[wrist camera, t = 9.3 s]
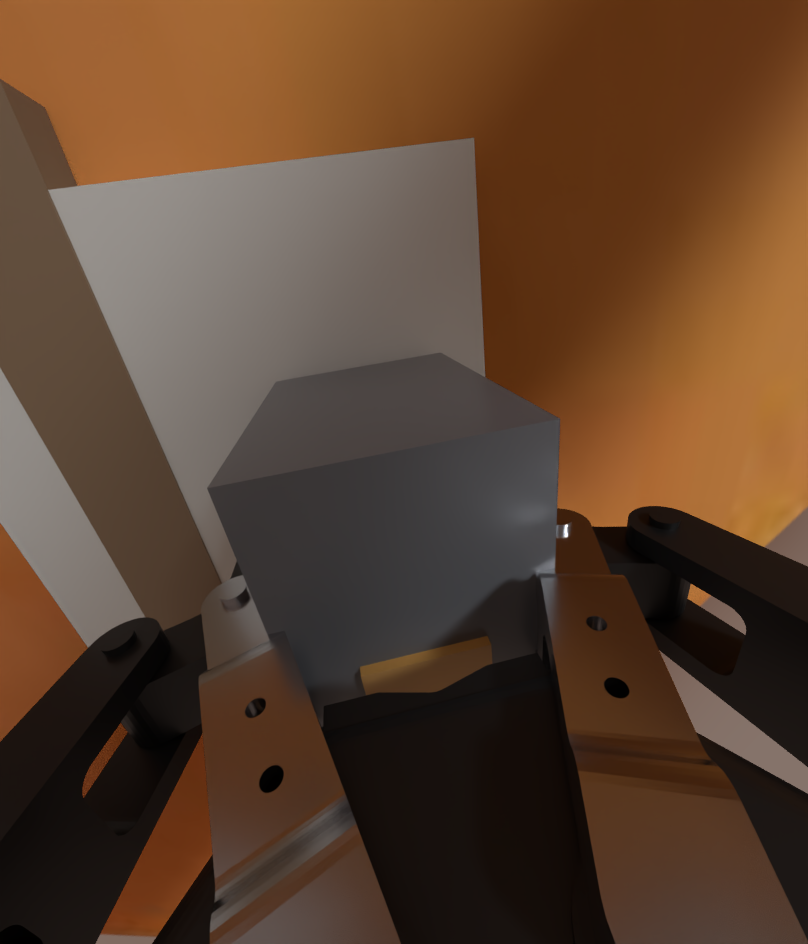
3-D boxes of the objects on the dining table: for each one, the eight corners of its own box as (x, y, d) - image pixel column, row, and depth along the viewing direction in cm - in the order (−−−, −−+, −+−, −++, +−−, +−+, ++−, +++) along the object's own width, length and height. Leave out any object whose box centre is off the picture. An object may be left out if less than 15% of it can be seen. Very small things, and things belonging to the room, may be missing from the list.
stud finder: (440, 352, 12) (567, 422, 5) (461, 560, 15) (553, 753, 9) (276, 381, 11) (202, 495, 5) (335, 588, 15) (336, 812, 8)
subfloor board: (452, 64, 11) (470, 28, 9) (487, 636, 20) (499, 662, 19) (-201, 133, 9) (-300, 104, 8) (168, 712, 19) (155, 747, 17)
